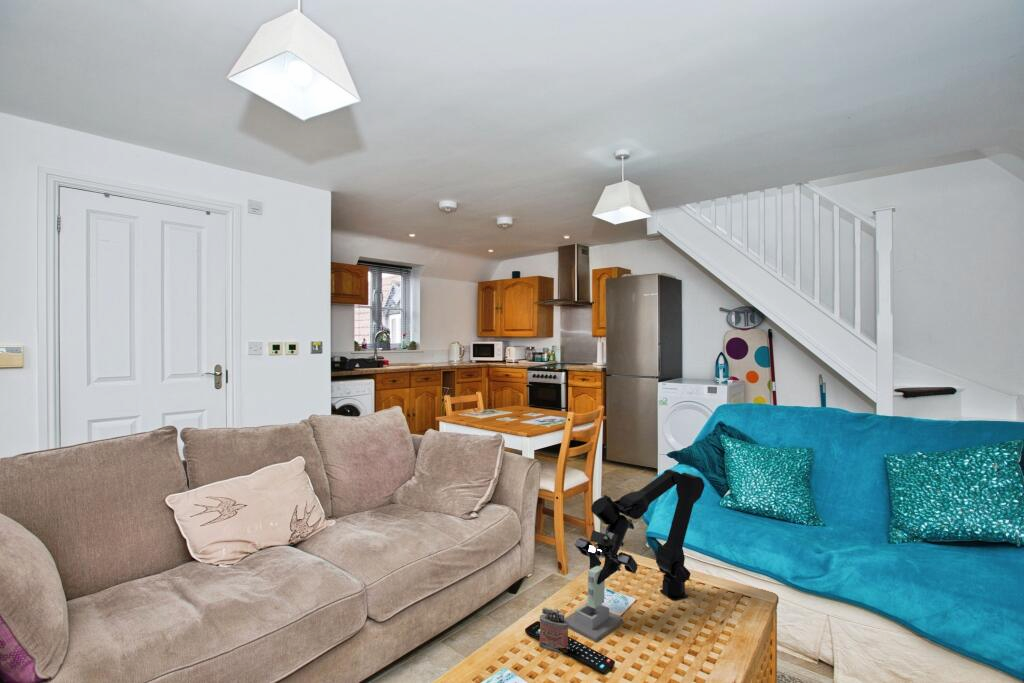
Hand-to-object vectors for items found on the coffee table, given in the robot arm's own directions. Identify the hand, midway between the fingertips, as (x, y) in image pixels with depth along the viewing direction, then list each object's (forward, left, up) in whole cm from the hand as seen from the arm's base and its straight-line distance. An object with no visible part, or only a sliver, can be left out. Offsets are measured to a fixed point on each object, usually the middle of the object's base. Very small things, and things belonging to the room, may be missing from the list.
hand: (593, 582), depth 141 cm
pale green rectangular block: (-1, -1, -7) cm, 7 cm away
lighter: (+15, +4, -13) cm, 20 cm away
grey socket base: (-1, -2, -13) cm, 13 cm away
